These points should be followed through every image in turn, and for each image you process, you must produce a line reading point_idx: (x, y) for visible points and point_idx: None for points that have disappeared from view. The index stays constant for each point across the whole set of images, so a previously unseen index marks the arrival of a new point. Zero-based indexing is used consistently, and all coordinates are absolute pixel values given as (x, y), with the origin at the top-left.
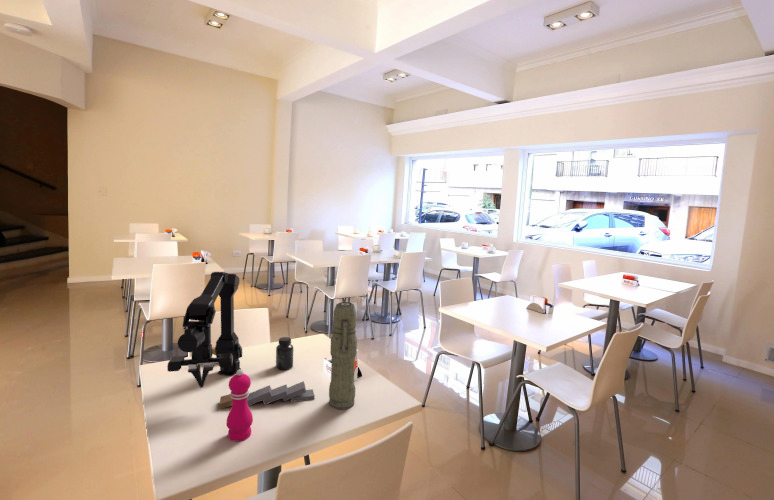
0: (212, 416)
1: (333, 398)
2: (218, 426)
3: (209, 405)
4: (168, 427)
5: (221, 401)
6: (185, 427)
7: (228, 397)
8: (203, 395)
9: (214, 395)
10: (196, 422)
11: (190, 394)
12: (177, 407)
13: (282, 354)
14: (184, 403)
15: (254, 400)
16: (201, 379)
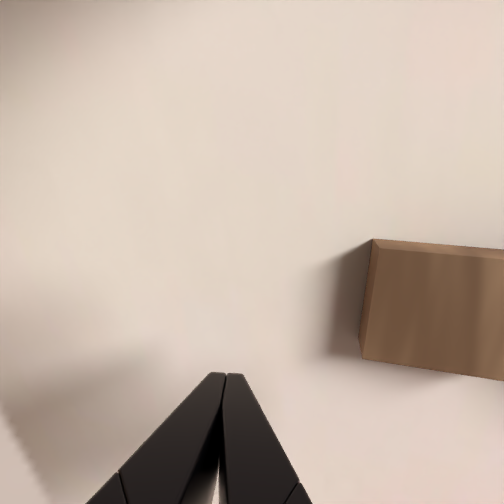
0: (306, 407)
1: None
2: (334, 500)
3: (287, 272)
4: (90, 450)
5: (379, 333)
6: None
7: (441, 310)
8: (237, 88)
9: (324, 114)
10: None
11: (126, 33)
12: (78, 244)
13: None
14: (112, 195)
15: None
16: (209, 439)
